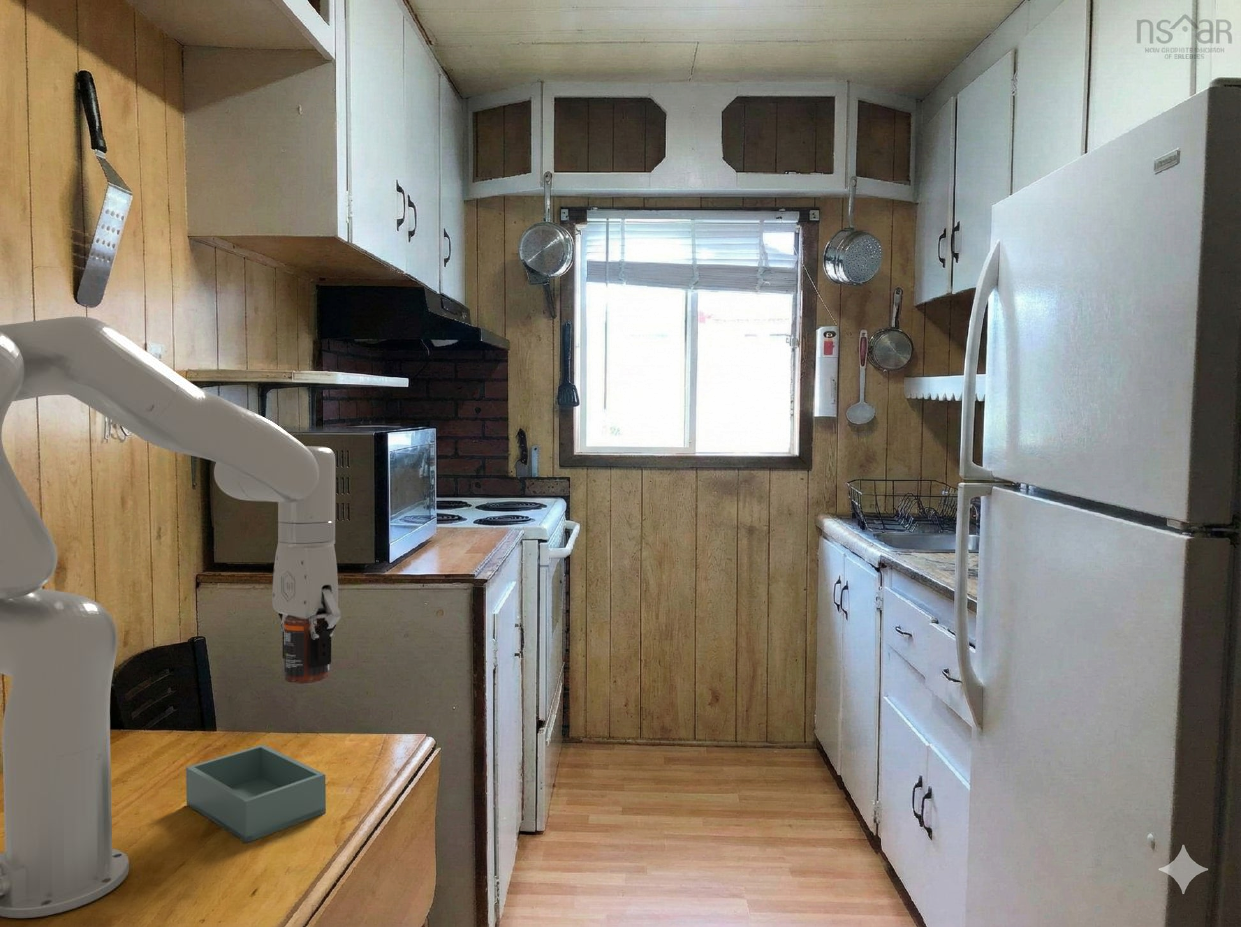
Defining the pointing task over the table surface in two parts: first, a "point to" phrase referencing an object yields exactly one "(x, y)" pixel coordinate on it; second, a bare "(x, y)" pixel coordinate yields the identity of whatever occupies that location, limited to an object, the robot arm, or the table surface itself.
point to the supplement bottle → (300, 652)
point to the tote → (255, 792)
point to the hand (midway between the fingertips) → (306, 660)
